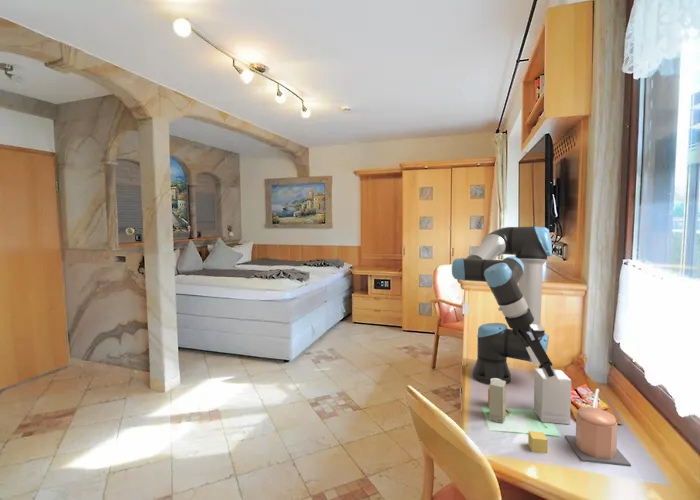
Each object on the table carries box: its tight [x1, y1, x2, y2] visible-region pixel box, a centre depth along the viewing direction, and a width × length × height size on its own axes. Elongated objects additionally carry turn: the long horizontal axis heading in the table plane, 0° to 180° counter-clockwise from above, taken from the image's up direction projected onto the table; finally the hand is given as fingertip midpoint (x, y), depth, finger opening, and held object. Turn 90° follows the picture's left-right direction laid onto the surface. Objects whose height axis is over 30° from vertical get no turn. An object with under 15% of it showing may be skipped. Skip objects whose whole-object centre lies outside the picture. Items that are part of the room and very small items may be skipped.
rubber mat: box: [564, 434, 632, 467], centre depth 105 cm, size 12×12×1 cm
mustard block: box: [527, 430, 549, 454], centre depth 106 cm, size 4×4×4 cm
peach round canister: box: [575, 406, 618, 459], centre depth 104 cm, size 9×9×10 cm
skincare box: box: [488, 379, 507, 424], centre depth 123 cm, size 6×4×12 cm
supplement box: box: [533, 367, 572, 425], centre depth 123 cm, size 9×9×15 cm
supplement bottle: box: [487, 378, 501, 408], centre depth 130 cm, size 5×5×10 cm
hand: (546, 373), depth 111 cm, fingers open, 13 cm apart
